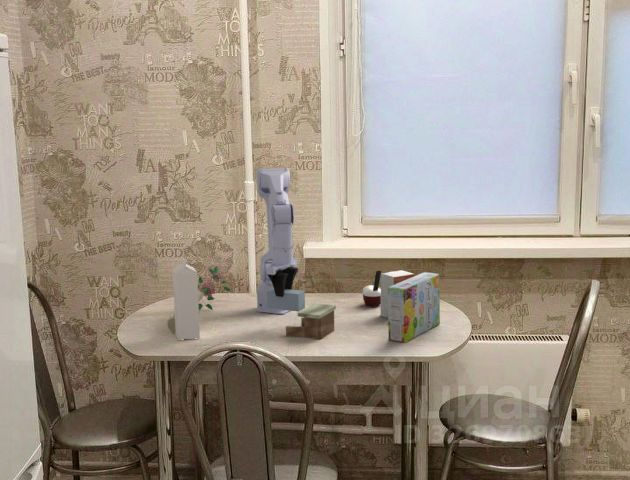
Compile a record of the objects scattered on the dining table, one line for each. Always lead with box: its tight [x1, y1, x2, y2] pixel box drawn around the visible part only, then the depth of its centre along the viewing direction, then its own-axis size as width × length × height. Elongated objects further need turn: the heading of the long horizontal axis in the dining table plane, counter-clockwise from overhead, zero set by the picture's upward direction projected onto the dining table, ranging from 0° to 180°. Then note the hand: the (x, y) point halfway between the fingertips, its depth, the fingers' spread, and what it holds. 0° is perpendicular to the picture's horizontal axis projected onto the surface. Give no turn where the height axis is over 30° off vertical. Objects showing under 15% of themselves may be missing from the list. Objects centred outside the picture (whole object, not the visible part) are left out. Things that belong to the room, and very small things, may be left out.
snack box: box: [387, 271, 441, 343], centre depth 220 cm, size 21×6×15 cm, turn 145°
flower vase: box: [166, 265, 231, 333], centre depth 239 cm, size 12×12×35 cm
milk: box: [172, 257, 201, 341], centre depth 217 cm, size 6×6×22 cm
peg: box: [267, 288, 306, 313], centre depth 224 cm, size 10×4×5 cm, turn 65°
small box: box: [380, 269, 415, 318], centre depth 237 cm, size 8×6×13 cm
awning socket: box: [285, 302, 337, 340], centre depth 221 cm, size 10×12×7 cm
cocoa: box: [362, 270, 382, 308], centre depth 248 cm, size 10×6×12 cm, turn 177°
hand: (283, 294), depth 224 cm, fingers closed on peg, 4 cm apart
